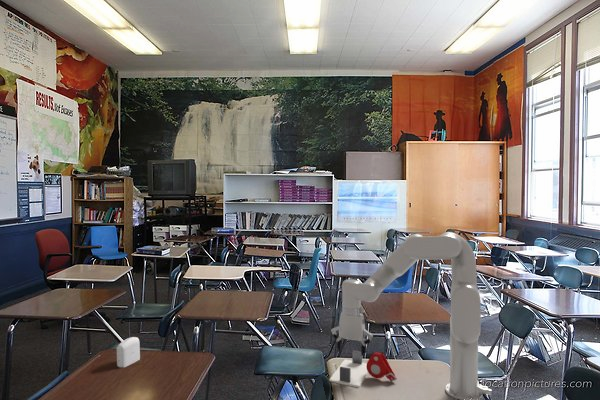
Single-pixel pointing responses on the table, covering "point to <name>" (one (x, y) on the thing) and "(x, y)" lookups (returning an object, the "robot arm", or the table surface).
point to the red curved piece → (380, 367)
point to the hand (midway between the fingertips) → (351, 352)
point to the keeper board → (351, 371)
